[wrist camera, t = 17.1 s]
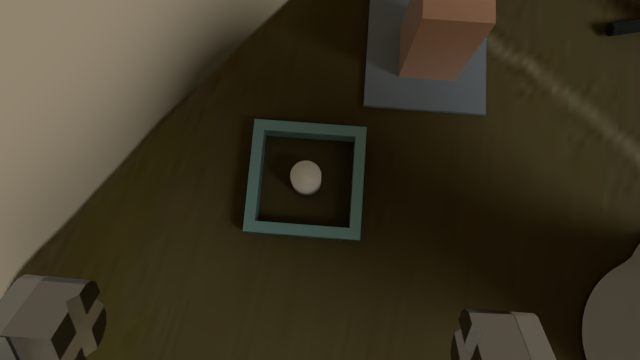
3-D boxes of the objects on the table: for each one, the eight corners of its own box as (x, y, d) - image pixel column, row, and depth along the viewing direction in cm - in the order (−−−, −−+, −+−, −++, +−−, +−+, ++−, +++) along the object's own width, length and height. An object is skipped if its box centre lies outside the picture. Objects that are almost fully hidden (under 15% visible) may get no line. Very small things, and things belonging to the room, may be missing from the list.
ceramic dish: (364, 133, 46) (367, 123, 43) (358, 241, 44) (361, 239, 41) (257, 125, 46) (253, 115, 43) (245, 232, 44) (240, 230, 41)
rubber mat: (485, 6, 49) (486, 3, 48) (484, 115, 46) (485, 114, 46) (369, -3, 49) (370, -5, 48) (363, 106, 47) (363, 105, 46)
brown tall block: (455, 29, 48) (495, -42, 37) (454, 81, 47) (495, 23, 36) (400, 25, 48) (424, -47, 37) (398, 77, 47) (422, 18, 36)
